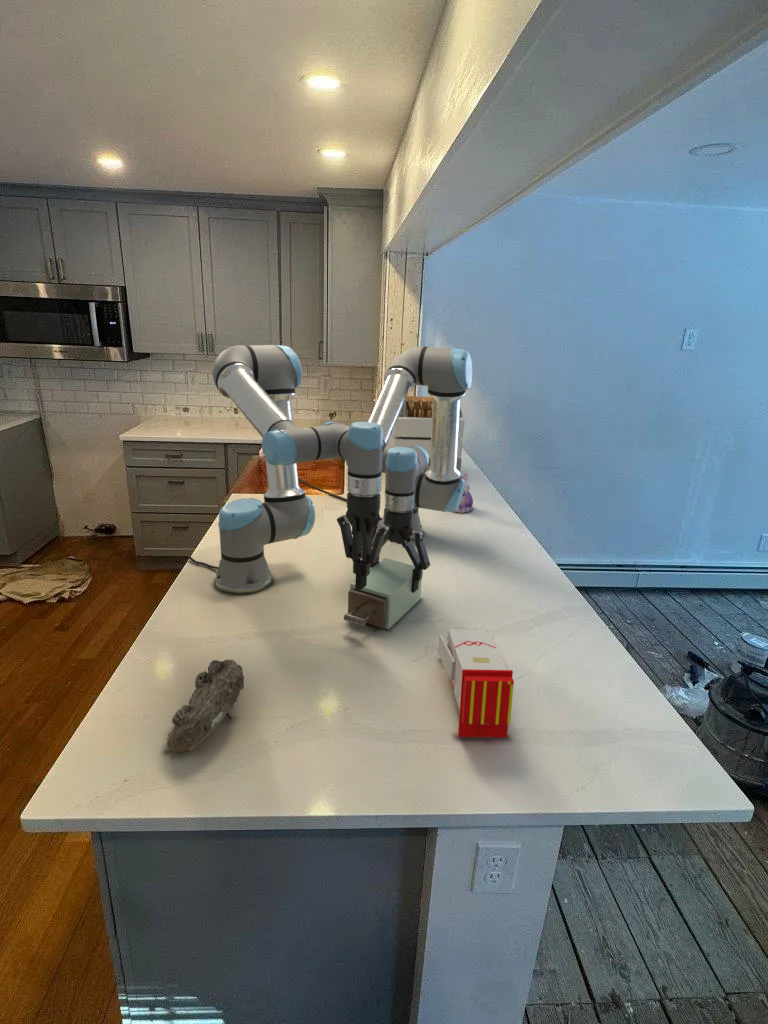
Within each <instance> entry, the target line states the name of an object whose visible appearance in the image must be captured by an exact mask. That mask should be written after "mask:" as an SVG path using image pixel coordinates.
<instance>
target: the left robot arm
mask: <svg viewBox="0 0 768 1024" xmlns="http://www.w3.org/2000/svg"><path fill="white" fill-rule="evenodd" d="M212 378H213V383H214V385H215V387H216V388H217V390H218V391H219V392H220V394H222V396H223V397H225V398H226V399H228V400H229V399H230V400H231V401H232V403H234V404H235V406H236V407H237V408H238V410H239V411H240V412H241V414H243V416H244V417H245V418H246V420H248V421H249V423H250V424H251V426H252V427H253V428H254V429H255V431H256V432H257V433H258V434H259V435H260V437H261V438H262V439H261V450H262V454H263V456H264V460H265V468H266V469H265V470H266V478H267V487H268V489H267V490H266V492H265V493H264V494H263V501H264V502H262V501H261V500H260V499H259V498H252V497H249V498H246V497H244V498H239V499H235V500H232V501H229V502H228V503H227V502H226V504H224V505H223V506H222V507H221V508H220V510H219V512H218V524H217V525H218V530H219V544H220V545H219V546H220V560H219V564H218V566H215V565H210V564H209V563H207V562H202V561H197V560H196V559H194V558H193V557H192V556H191V555H189V554H187V555H185V556H184V559H189V560H190V561H191V562H192V563H194V564H196V565H201V566H205V567H207V568H210V569H214V570H216V573H215V585H216V587H217V589H219V590H220V591H222V592H224V593H228V594H233V595H234V594H235V595H245V594H252V593H256V592H260V591H262V590H264V589H266V588H267V587H269V586H270V584H271V583H272V572H271V570H270V566H269V565H268V561H267V559H266V557H265V546H266V545H270V544H275V543H279V542H284V541H288V540H289V541H290V540H297V539H298V538H301V537H306V536H307V535H309V534H310V533H311V531H312V529H313V528H314V525H315V521H316V510H315V509H316V508H315V505H314V502H313V500H312V499H311V497H309V496H308V495H306V491H305V490H304V489H303V488H302V487H300V484H299V482H300V481H299V480H298V478H299V472H298V464H300V463H301V464H302V463H308V462H316V461H324V460H331V459H341V460H343V461H345V462H346V461H348V466H347V493H346V499H347V501H346V508H347V510H346V512H345V514H343V515H341V516H339V517H337V518H336V522H337V524H338V526H339V528H340V533H341V539H342V544H343V549H344V554H345V557H346V558H348V559H351V560H352V573H353V574H354V575H355V580H356V582H355V588H356V589H359V590H361V589H363V588H364V587H365V586H366V585H367V576H368V575H369V574H370V569H371V568H370V564H373V563H374V562H376V561H377V560H378V558H379V559H380V556H381V555H380V554H381V551H382V549H383V547H382V545H383V541H384V538H385V534H386V533H387V532H388V530H389V529H390V527H389V525H386V526H385V525H384V524H383V523H382V520H381V518H382V517H381V515H380V510H381V497H382V496H381V494H380V493H381V492H382V473H381V471H382V455H383V445H384V443H383V429H382V427H381V425H379V424H377V423H371V422H368V421H354V422H352V423H351V424H349V425H346V424H344V423H342V422H338V421H327V422H324V423H323V424H322V425H320V426H309V427H308V426H307V427H298V426H297V425H296V424H295V423H294V421H293V412H292V400H293V398H294V397H295V396H296V389H297V388H299V387H300V386H301V384H302V379H303V370H302V364H301V361H300V359H299V357H298V355H297V353H296V352H295V350H294V349H292V348H291V347H290V346H288V345H281V344H279V345H278V344H255V345H253V344H251V345H250V344H249V345H243V344H236V345H233V346H230V347H228V348H225V349H224V350H222V352H221V353H219V355H218V356H217V357H216V359H215V360H214V363H213V366H212ZM376 526H377V532H378V533H377V534H376V537H375V540H374V544H373V547H372V535H373V531H374V529H375V527H376Z"/></svg>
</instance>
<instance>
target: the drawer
mask: <svg viewBox="0 0 768 1024" xmlns="http://www.w3.org/2000/svg"><path fill="white" fill-rule="evenodd" d="M347 593H348V595H347V596H348V597H347V613H344V615H343V620H344V621H346V622H349V623H352V624H354V625H357V626H361V627H365V626H366V624H369V625H371V626H375V627H377V628H381V629H385V628H384V627H385V624H386V603H387V600H386V598H385V597H381V596H378V595H375V594H371V593H368V592H365V591H361V590H358V589H357V591H356V590H353V589H350V588H349V589H348V592H347Z"/></svg>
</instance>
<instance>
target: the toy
mask: <svg viewBox="0 0 768 1024" xmlns="http://www.w3.org/2000/svg"><path fill="white" fill-rule="evenodd" d="M446 640H447V643H446V641H445V639H444V636H443V635H442V634H439V637H438V646H437V656H438V657H439V659H440V661H441V663H442V666H443V668H444V670H445V672H446V674H447V677H448V679H449V681H450V684H451V687H452V690H453V693H454V697H455V701H456V705H457V708H458V711H459V714H458V715H459V716H458V730H457V731H458V732H457V737H458V738H508V731H509V726H510V725H511V717H512V707H513V697H514V696H513V695H514V684H515V680H514V679H513V673H514V671H513V670H512V669H508V667H507V665H506V662H505V661H504V659H503V658H502V655H501V653H500V651H499V649H498V647H497V643H496V639H495V637H494V635H493V634H491V632H490V631H489V629H467V628H466V629H465V628H463V629H461V628H460V629H459V628H448V630H447V639H446Z"/></svg>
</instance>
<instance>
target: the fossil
mask: <svg viewBox="0 0 768 1024" xmlns="http://www.w3.org/2000/svg"><path fill="white" fill-rule="evenodd" d="M243 670H244V669H243V667H242V665H240V664H237V662H236V661H235V660H234V659H232V658H231V659H227V658H226V659H224V660H223V661H222V660H217V659H212V660H211V661H210V663H209V665H208V666H207V671H201V672H199V673H198V674H197V675H196V676H195V680H194V684H195V685H194V687H195V689H194V690H193V693H192V694H191V697H190V698H189V700H188V704H184V705H182V706H181V707H180V709H177V710H176V711H175V713H174V715H173V716H172V718H171V723H172V724H173V727H172V730H171V731H170V732H168V734H167V738H166V741H167V742H166V745H167V749H168V750H169V751H173V752H174V753H176V754H178V753H182V752H188V751H189V752H192V751H193V750H195V748H196V747H197V746H199V744H200V743H201V742H203V741H204V740H205V739H206V738H207V737H208V736H209V735H210V734H211V733H212V732H214V730H215V729H217V727H218V726H219V724H220V722H221V721H222V720H223V719H224V718H225V716H226V717H227V719H229V720H233V717H232V715H230V714H229V710H230V709H231V708H234V706H235V704H236V703H237V702H238V699H239V697H240V695H241V693H242V691H243V690H245V689H244V688H245V675H244V671H243Z"/></svg>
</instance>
